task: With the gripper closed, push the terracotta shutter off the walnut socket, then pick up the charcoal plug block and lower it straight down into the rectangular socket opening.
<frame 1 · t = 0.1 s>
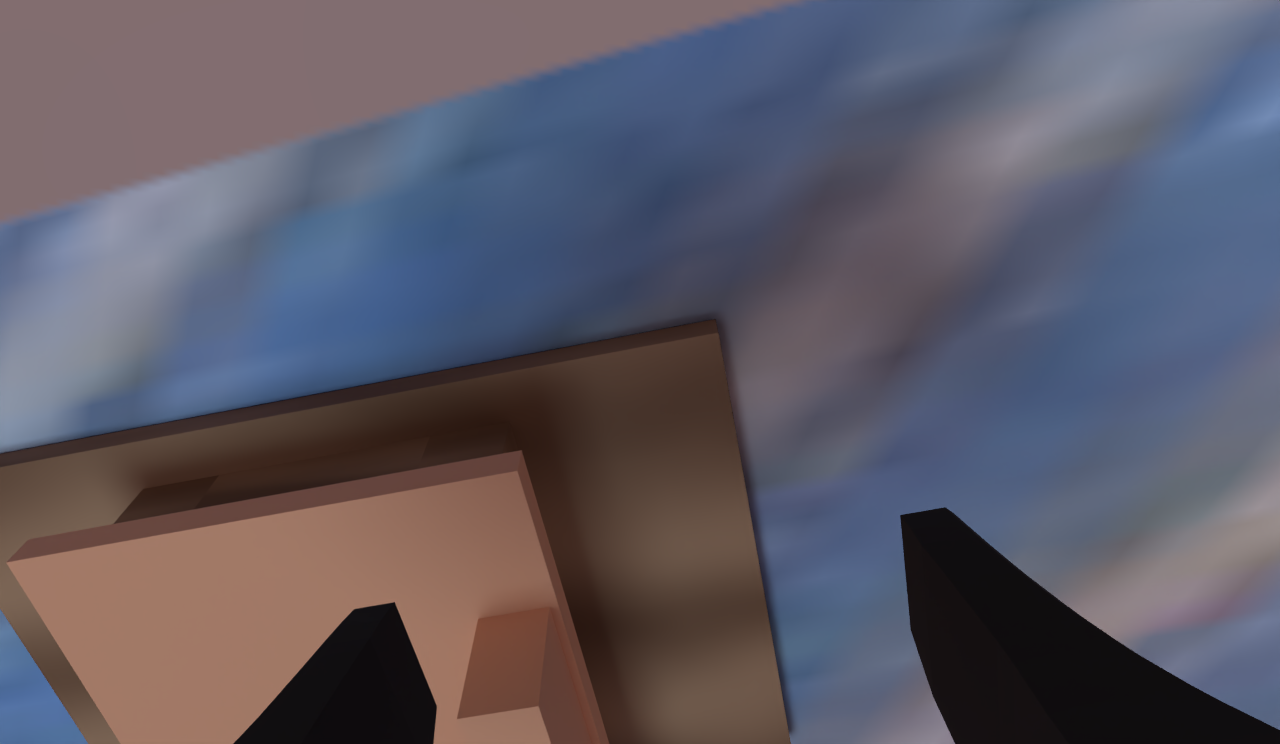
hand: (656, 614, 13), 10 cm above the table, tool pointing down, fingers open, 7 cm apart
socket: (402, 611, 25), on the table
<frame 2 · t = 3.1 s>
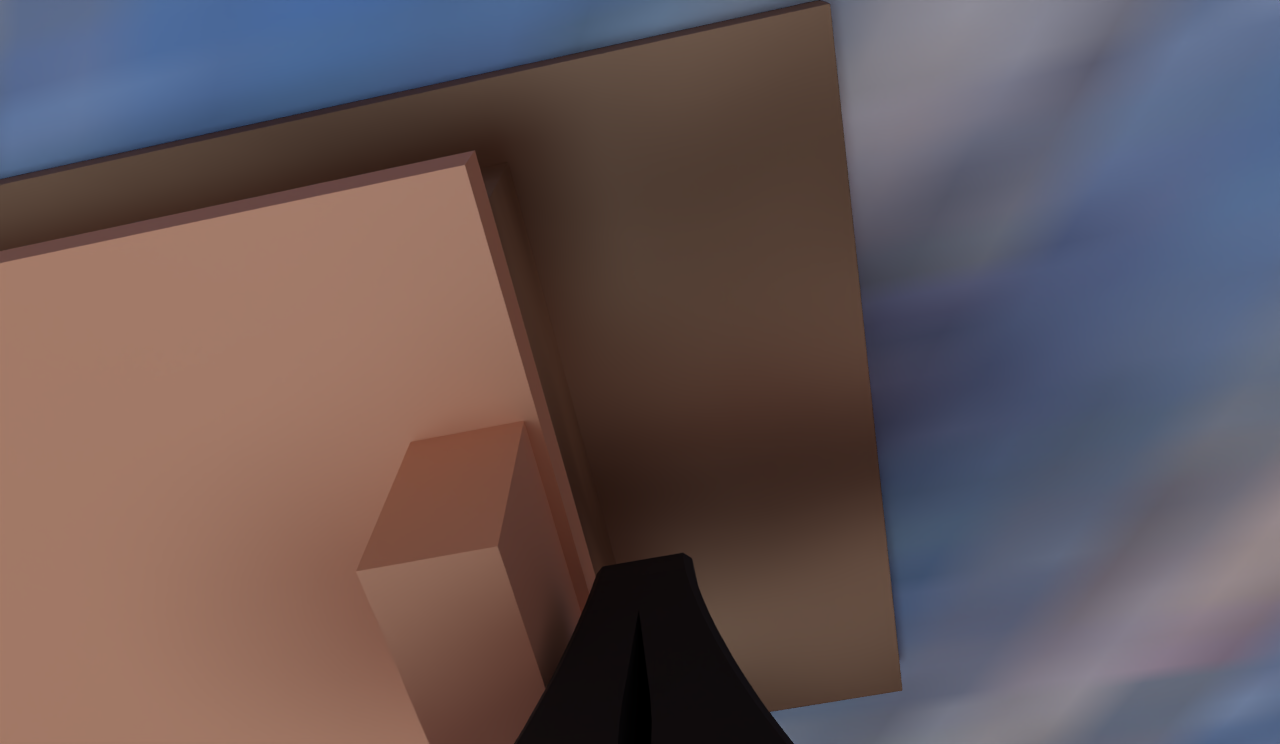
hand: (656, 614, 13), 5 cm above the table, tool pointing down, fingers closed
socket: (358, 483, 18), on the table
shutter: (213, 699, 13), point 5 cm above the table, slide at 0.7 cm, touching gripper
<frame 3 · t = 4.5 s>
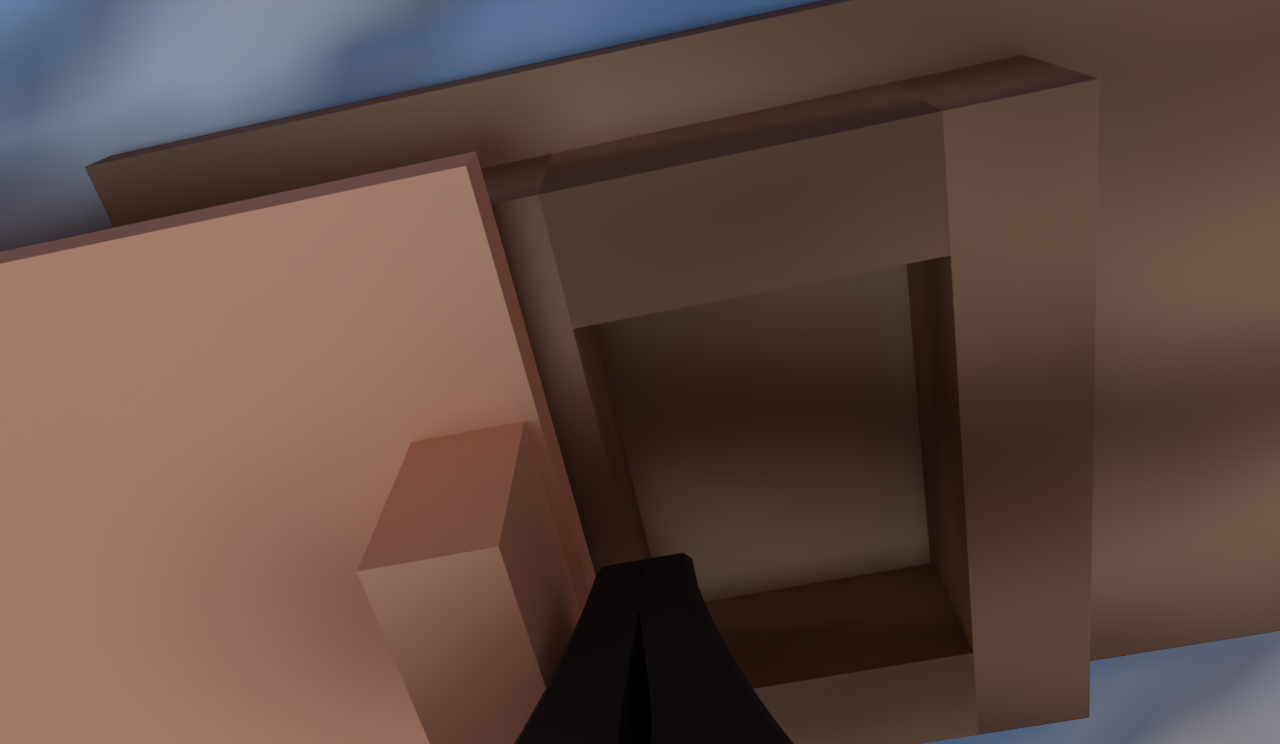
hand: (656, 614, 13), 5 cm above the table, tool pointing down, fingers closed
socket: (764, 408, 17), on the table
shutter: (214, 699, 13), point 5 cm above the table, slide at 8.8 cm, touching gripper
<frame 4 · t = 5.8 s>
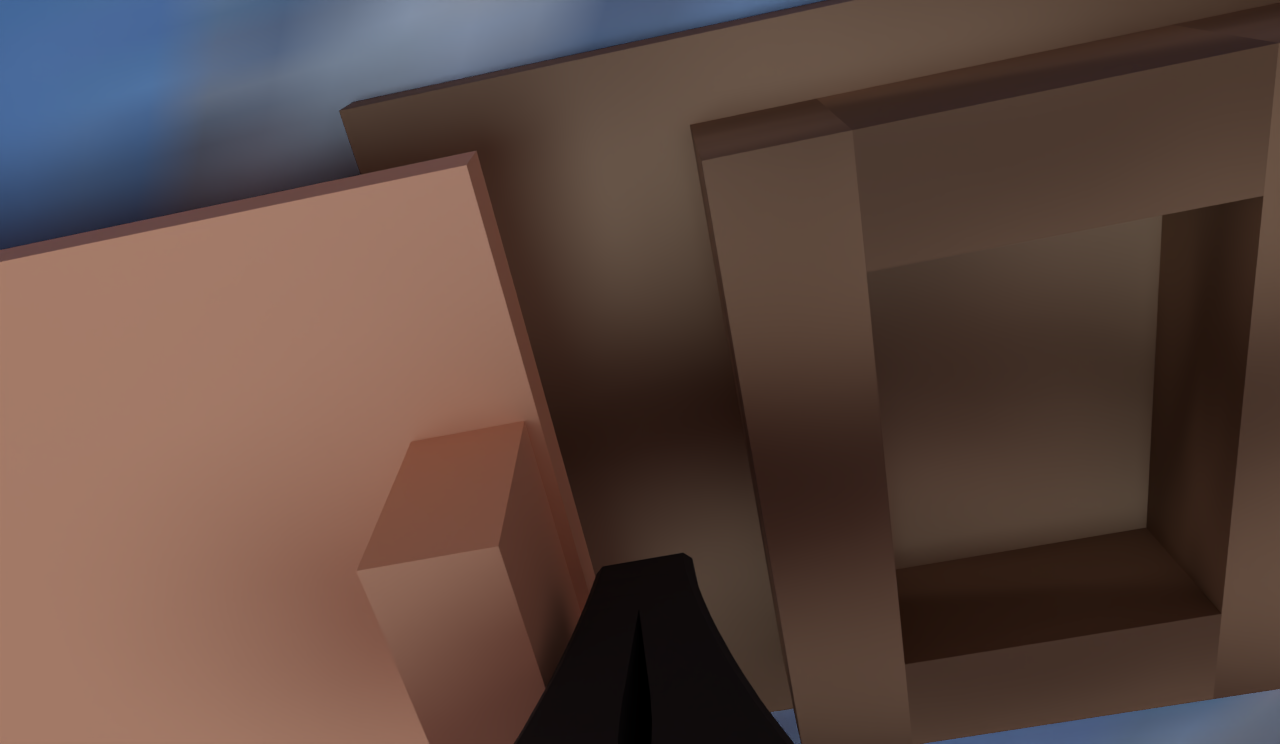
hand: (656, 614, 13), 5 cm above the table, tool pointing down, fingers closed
socket: (985, 368, 17), on the table
shutter: (213, 698, 13), point 6 cm above the table, slide at 13.0 cm, touching gripper
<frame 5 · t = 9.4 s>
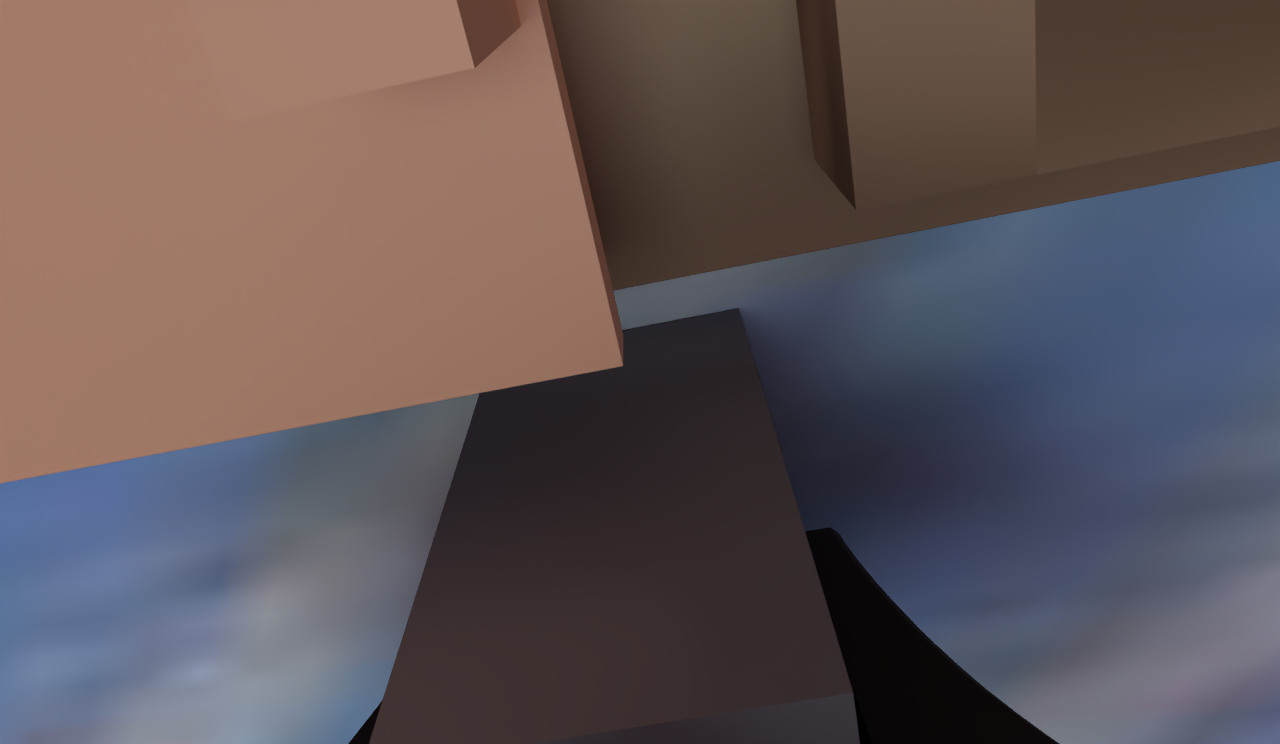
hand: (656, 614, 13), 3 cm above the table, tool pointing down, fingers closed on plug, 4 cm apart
plug: (650, 488, 16), on the table, touching gripper
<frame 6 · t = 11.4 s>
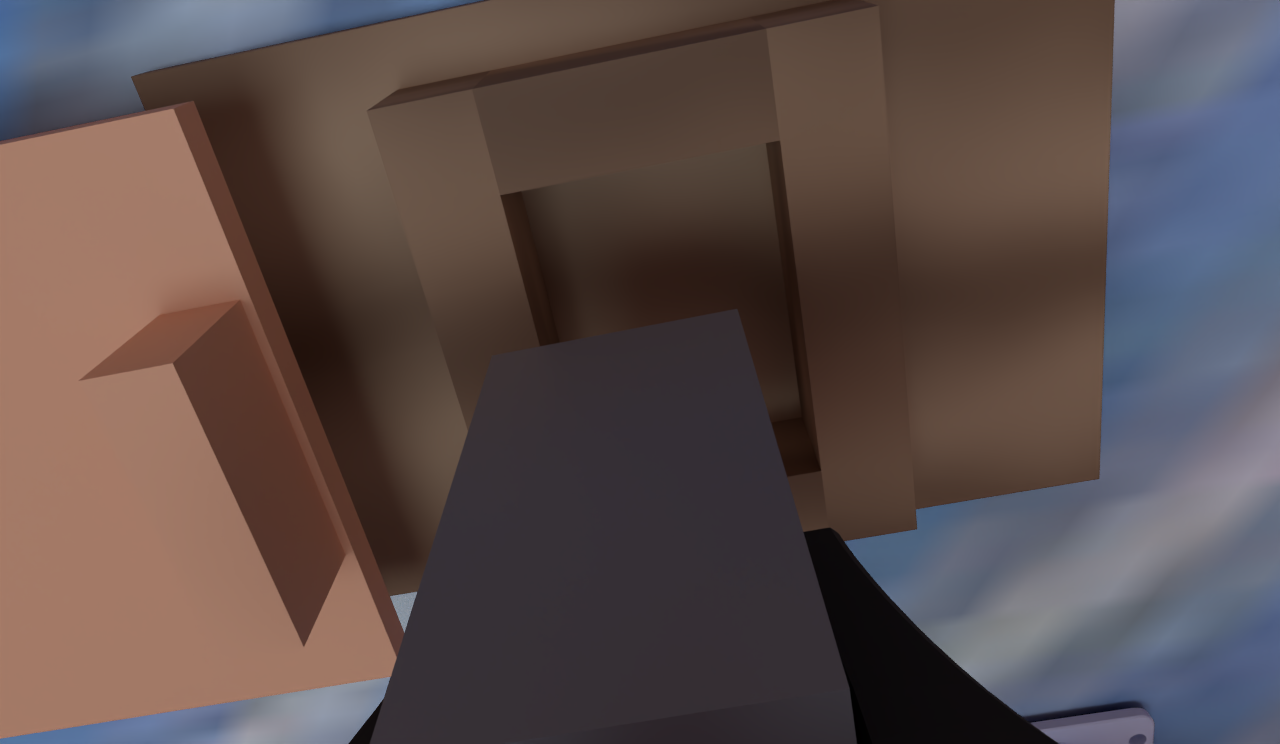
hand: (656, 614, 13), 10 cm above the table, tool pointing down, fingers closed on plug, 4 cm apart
socket: (666, 287, 22), on the table
plug: (649, 487, 16), point 7 cm above the table, touching gripper
shutter: (20, 508, 18), point 5 cm above the table, slide at 13.0 cm
when the fingers open (4 cm above the table, at t = 13.4 s): plug stays where it is, resting on socket.
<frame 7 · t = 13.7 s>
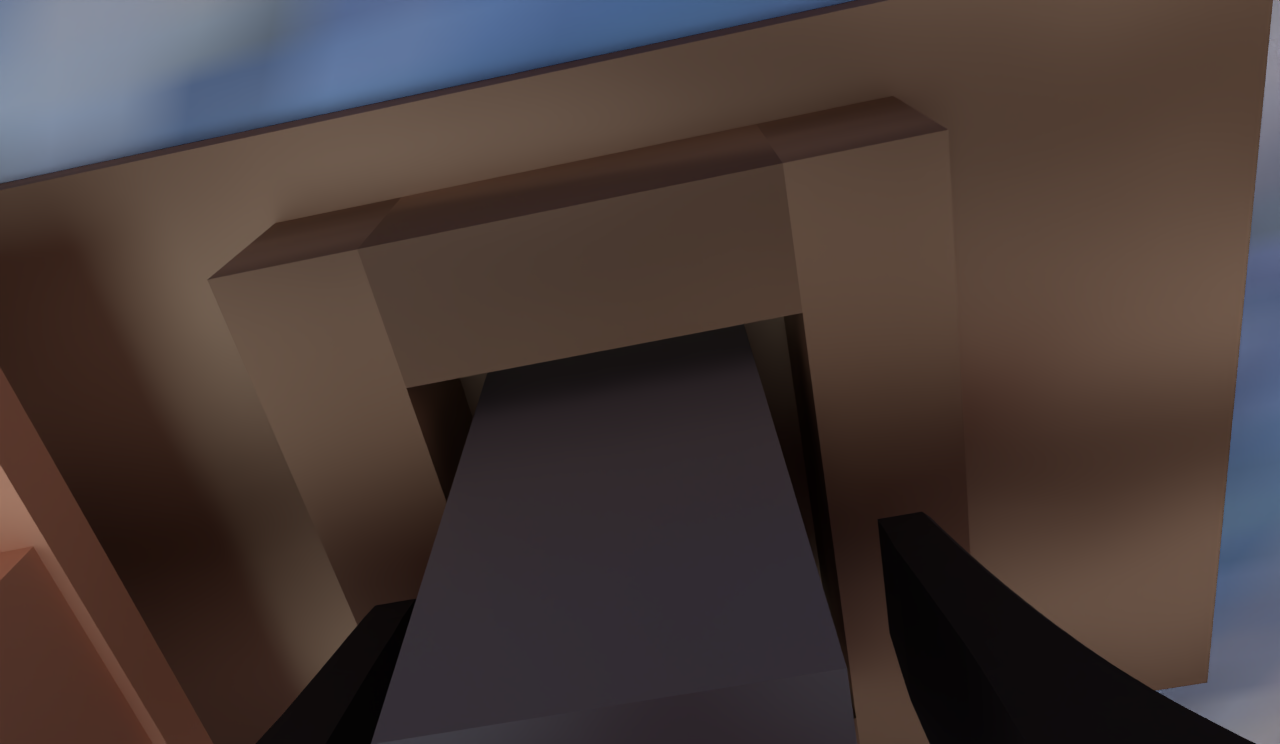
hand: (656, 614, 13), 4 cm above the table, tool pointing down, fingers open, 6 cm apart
socket: (649, 456, 17), on the table
plug: (650, 480, 16), point 1 cm above the table, touching socket
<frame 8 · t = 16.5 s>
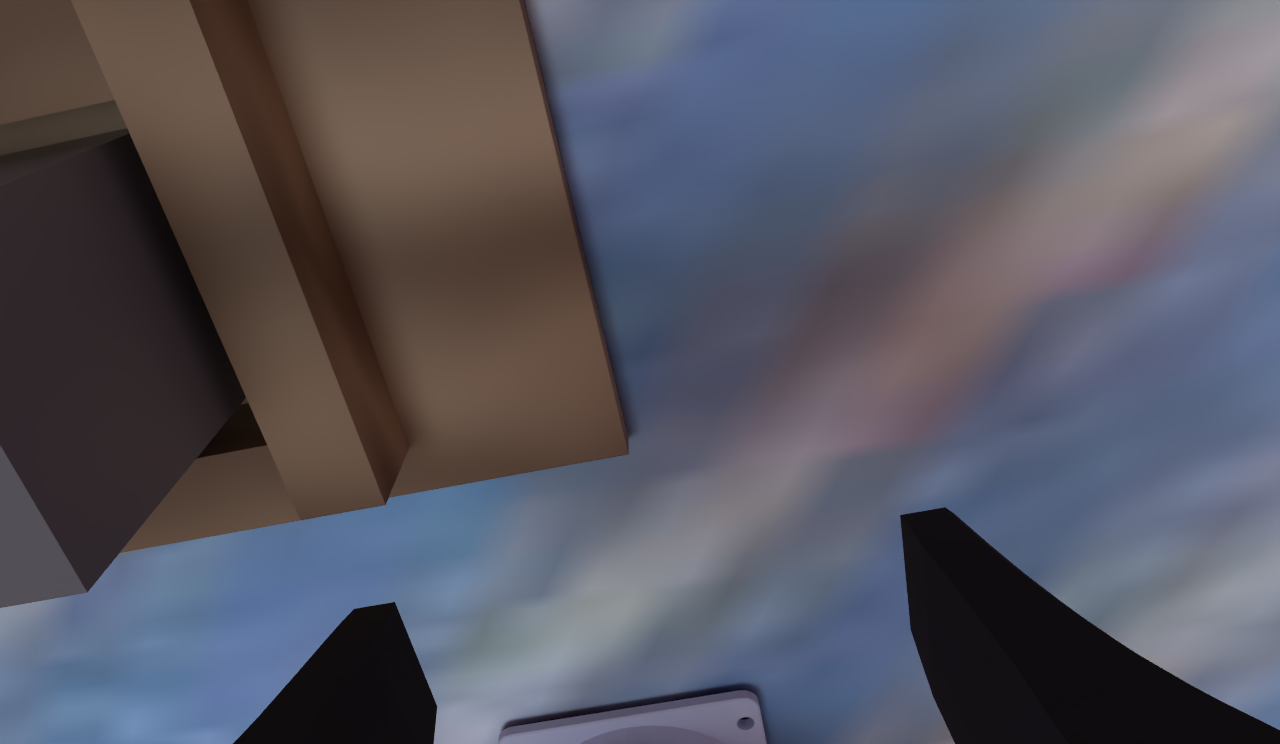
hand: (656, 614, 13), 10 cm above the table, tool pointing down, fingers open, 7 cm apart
socket: (148, 259, 21), on the table
plug: (132, 272, 21), point 1 cm above the table, touching socket
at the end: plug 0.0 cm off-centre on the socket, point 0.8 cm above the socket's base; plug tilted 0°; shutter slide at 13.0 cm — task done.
